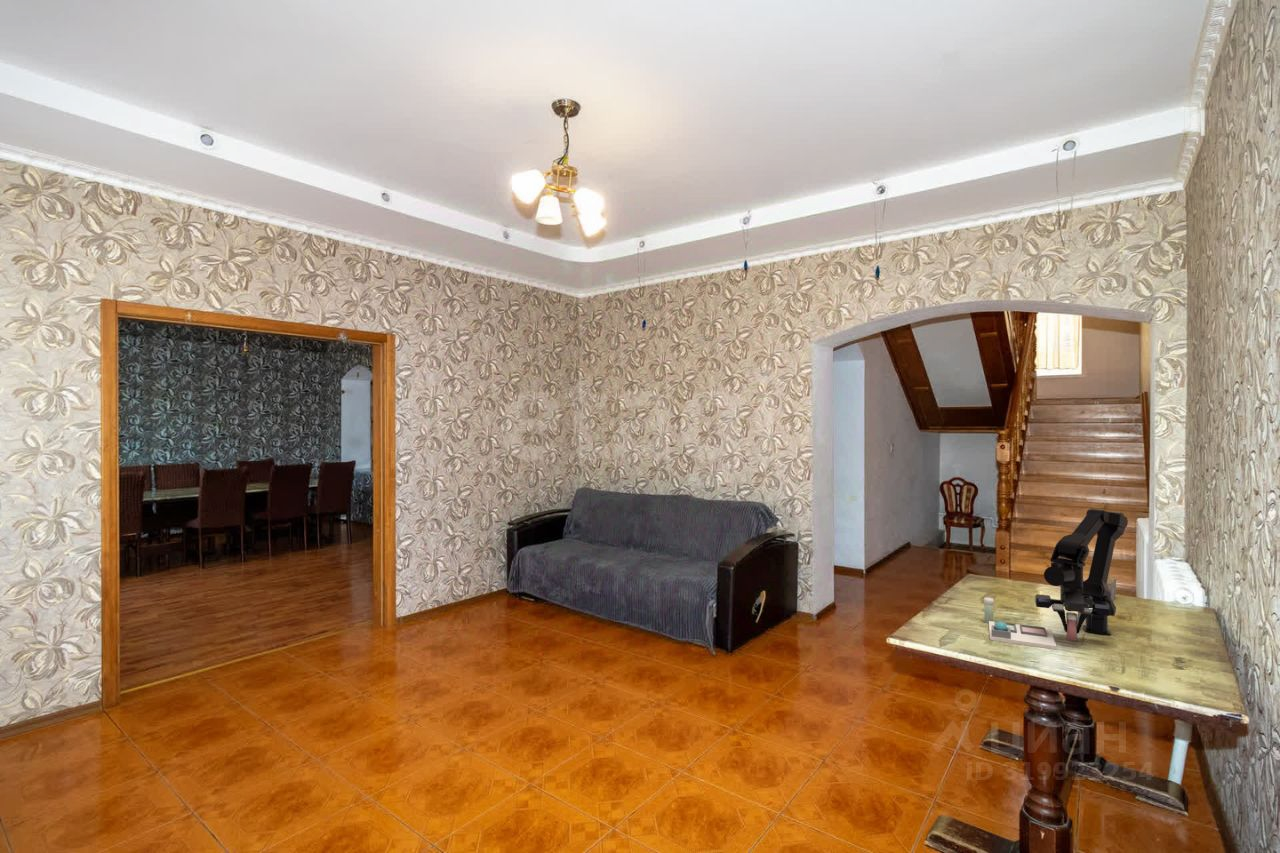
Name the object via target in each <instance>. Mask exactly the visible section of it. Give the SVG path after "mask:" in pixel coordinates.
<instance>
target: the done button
mask: <svg viewBox="0 0 1280 853" xmlns="http://www.w3.org/2000/svg"><path fill="white" fill-rule="evenodd" d="M994 622H995V621H994ZM1004 622H1005V621H999V622H995V630H1001V631H1007V624H1006V623H1007V622H1006V623H1004Z"/></svg>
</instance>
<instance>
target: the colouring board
mask: <svg viewBox="0 0 1280 853" xmlns="http://www.w3.org/2000/svg"><path fill="white" fill-rule="evenodd" d="M995 622H1000V621H999V620H998V621H996V620H995V621H994V620H993V621H989V623H988V629H989V633H988V634H989V640H990V641H995V642H1003V643H1008V644H1015V645H1022V646H1030V647H1037V648H1043V649H1051V650H1057V648H1058V647H1057V644H1056V640H1055V637H1054V635H1053V632H1052V629H1051V628H1046V627H1045V626H1044V627H1043V626H1036V625H1028V624H1023V623H1021V624H1016V623H1014V622H1013V623H1012V622H1005V621H1003V622H1004V623H1006V624H1007V631H1001V630H995Z"/></svg>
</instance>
